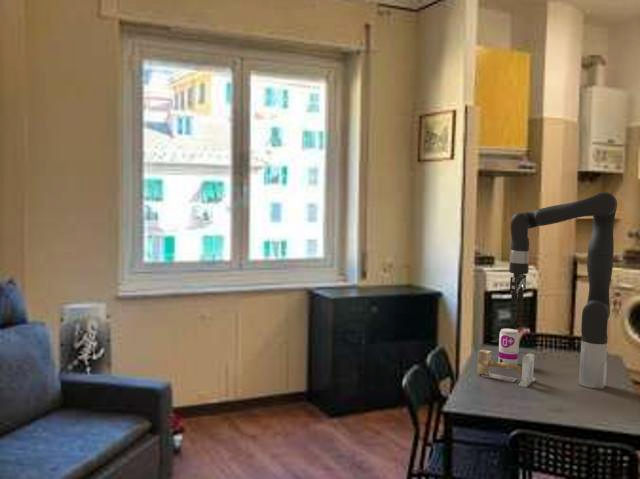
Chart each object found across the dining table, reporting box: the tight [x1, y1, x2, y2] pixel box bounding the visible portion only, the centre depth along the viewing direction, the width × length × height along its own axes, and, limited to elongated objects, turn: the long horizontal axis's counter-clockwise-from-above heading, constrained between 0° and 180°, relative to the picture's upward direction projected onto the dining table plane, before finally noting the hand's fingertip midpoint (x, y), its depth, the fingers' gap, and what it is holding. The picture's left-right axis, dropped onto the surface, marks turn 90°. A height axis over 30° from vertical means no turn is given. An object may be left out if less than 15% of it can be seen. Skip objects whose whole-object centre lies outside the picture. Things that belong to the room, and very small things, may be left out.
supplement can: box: [497, 328, 520, 365], centre depth 278 cm, size 8×8×15 cm
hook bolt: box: [476, 349, 522, 378], centre depth 256 cm, size 17×4×9 cm, turn 56°
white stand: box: [481, 352, 536, 388], centre depth 255 cm, size 19×12×11 cm, turn 56°
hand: (517, 300), depth 263 cm, fingers open, 8 cm apart
